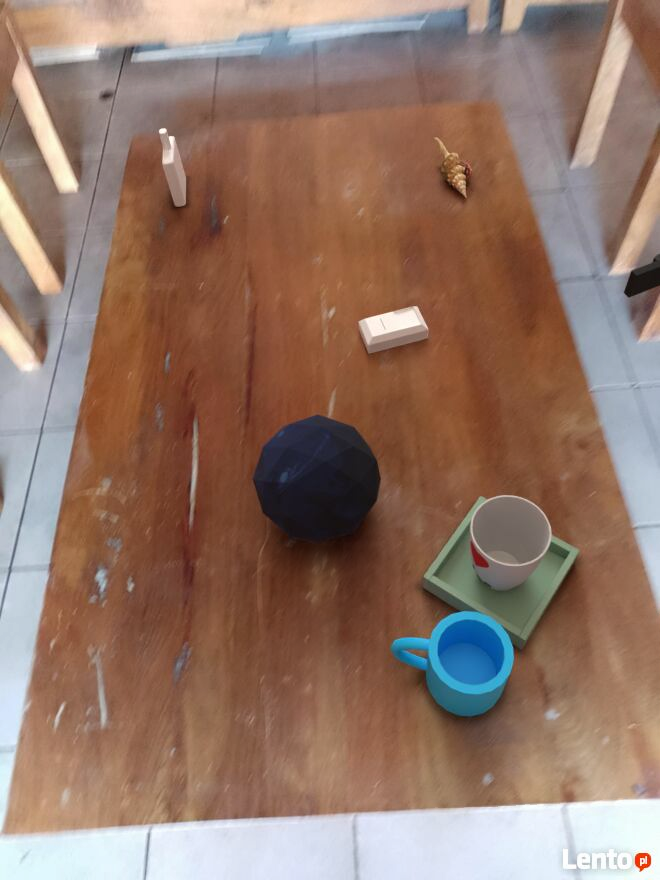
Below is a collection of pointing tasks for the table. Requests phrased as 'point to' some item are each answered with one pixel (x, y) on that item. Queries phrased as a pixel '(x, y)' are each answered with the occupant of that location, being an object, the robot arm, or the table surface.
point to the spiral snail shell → (454, 169)
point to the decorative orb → (317, 479)
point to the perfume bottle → (173, 168)
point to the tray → (508, 608)
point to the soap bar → (393, 329)
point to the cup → (507, 541)
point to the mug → (462, 661)
